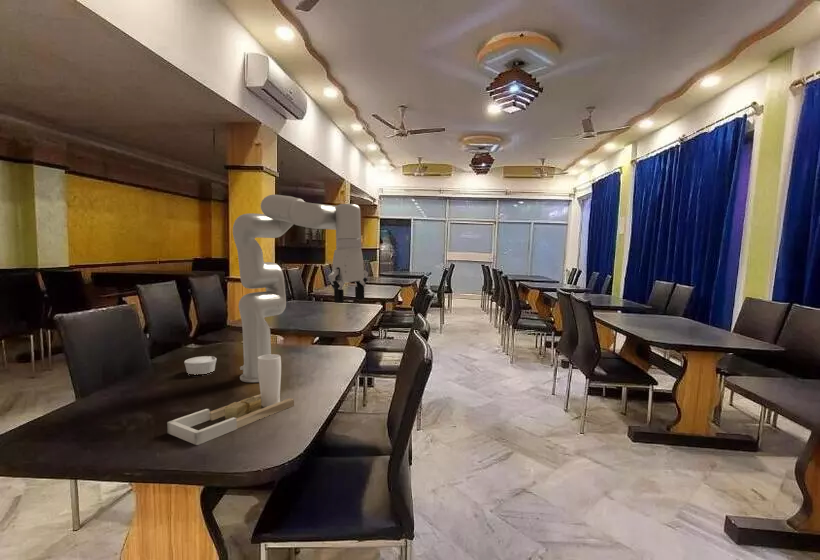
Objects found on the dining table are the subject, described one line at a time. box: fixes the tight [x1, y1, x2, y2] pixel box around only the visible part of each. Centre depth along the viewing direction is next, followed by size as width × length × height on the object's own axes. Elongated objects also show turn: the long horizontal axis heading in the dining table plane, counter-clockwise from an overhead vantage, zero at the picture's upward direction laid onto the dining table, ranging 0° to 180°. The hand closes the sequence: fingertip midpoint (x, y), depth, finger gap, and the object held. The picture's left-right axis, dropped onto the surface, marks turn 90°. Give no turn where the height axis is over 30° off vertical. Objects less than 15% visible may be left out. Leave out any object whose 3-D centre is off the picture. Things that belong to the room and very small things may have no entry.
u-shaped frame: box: [166, 408, 238, 446], centre depth 113 cm, size 13×11×3 cm
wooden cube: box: [240, 396, 262, 414], centre depth 126 cm, size 4×4×4 cm
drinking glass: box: [258, 353, 282, 408], centre depth 131 cm, size 7×7×15 cm
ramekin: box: [183, 355, 217, 375], centre depth 168 cm, size 11×11×5 cm
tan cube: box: [224, 401, 247, 421], centre depth 121 cm, size 4×4×4 cm
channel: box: [209, 393, 295, 429], centre depth 126 cm, size 13×20×2 cm, turn 147°
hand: (349, 300), depth 134 cm, fingers open, 9 cm apart
